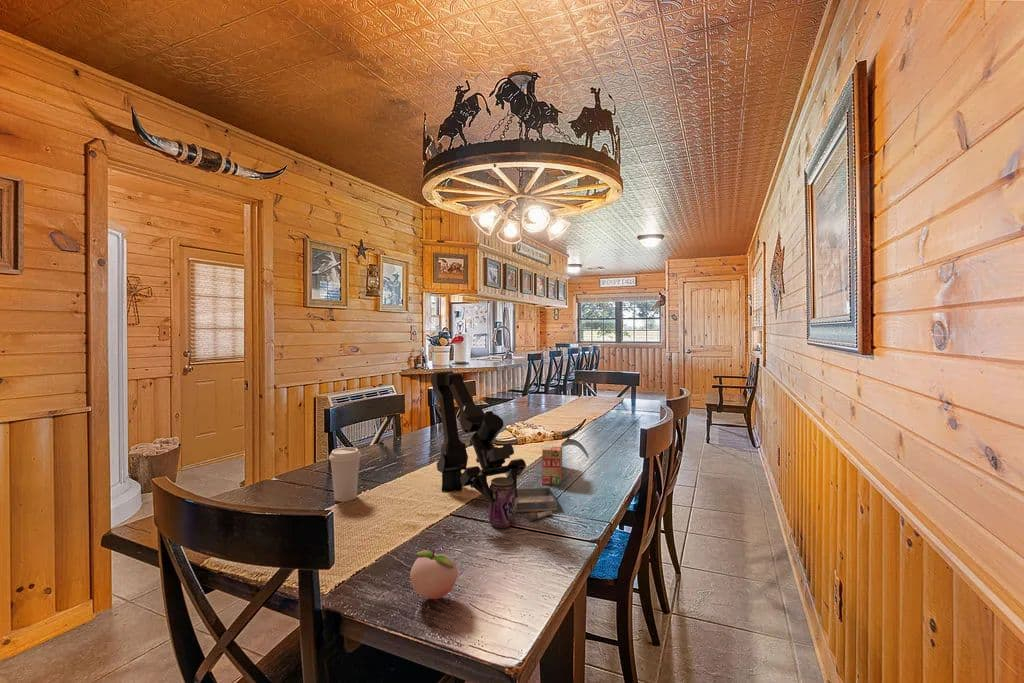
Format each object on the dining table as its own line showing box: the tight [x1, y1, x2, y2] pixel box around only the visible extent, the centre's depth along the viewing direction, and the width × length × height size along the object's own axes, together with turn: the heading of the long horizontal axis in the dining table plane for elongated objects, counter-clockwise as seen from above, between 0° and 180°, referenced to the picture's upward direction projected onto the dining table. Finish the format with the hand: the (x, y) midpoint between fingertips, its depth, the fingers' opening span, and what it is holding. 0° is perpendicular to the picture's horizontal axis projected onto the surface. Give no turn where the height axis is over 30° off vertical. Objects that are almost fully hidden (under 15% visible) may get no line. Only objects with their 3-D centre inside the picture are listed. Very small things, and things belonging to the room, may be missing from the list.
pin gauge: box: [526, 510, 553, 522], centre depth 133 cm, size 8×2×2 cm, turn 127°
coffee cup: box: [328, 446, 362, 503], centre depth 148 cm, size 10×10×15 cm
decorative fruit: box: [409, 549, 458, 600], centre depth 93 cm, size 9×8×10 cm
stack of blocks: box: [541, 440, 563, 486], centre depth 171 cm, size 21×6×12 cm, turn 172°
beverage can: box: [488, 476, 516, 529], centre depth 128 cm, size 7×7×12 cm
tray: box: [515, 487, 559, 513], centre depth 144 cm, size 12×12×2 cm
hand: (504, 500), depth 127 cm, fingers closed on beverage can, 7 cm apart
